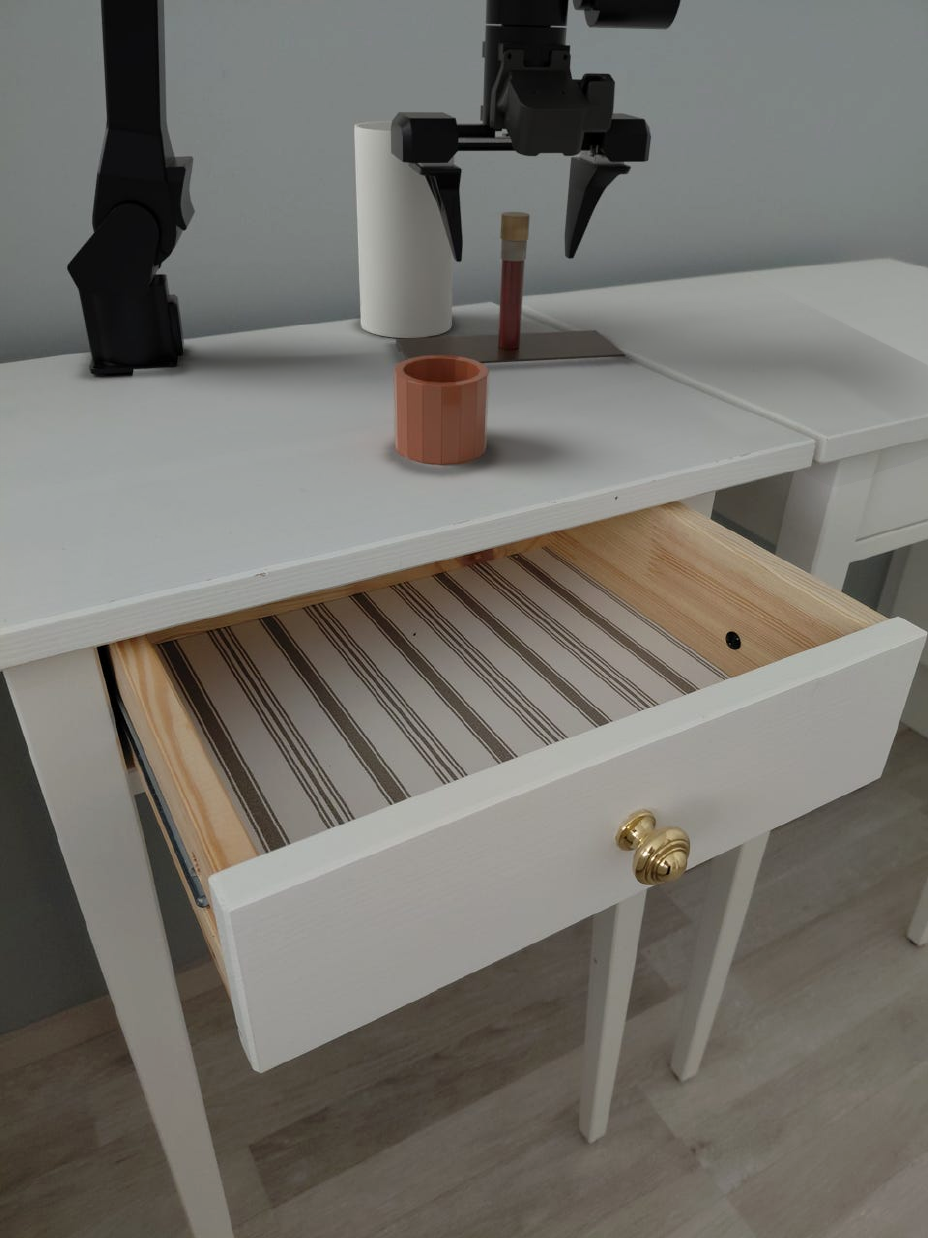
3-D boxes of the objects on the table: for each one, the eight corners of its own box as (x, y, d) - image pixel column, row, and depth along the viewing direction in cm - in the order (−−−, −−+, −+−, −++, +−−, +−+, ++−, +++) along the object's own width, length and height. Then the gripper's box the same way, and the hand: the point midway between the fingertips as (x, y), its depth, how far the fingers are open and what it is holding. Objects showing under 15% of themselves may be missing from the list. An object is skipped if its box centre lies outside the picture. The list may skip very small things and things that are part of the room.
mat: (410, 372, 73) (410, 364, 73) (395, 345, 79) (395, 338, 79) (624, 361, 77) (625, 354, 77) (595, 336, 83) (596, 329, 82)
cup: (440, 341, 80) (443, 133, 71) (349, 333, 81) (340, 128, 73) (459, 316, 87) (464, 123, 78) (375, 309, 88) (370, 118, 79)
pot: (404, 474, 57) (403, 387, 54) (389, 438, 62) (387, 356, 59) (495, 467, 58) (499, 382, 55) (473, 433, 63) (476, 352, 60)
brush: (499, 351, 76) (505, 216, 71) (492, 343, 78) (498, 211, 73) (525, 349, 77) (533, 216, 71) (517, 341, 79) (525, 211, 73)
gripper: (417, 25, 57) (418, 288, 65) (698, 32, 61) (664, 279, 69) (387, 22, 66) (391, 253, 74) (633, 28, 70) (610, 248, 78)
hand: (514, 259), depth 74 cm, fingers open, 9 cm apart
